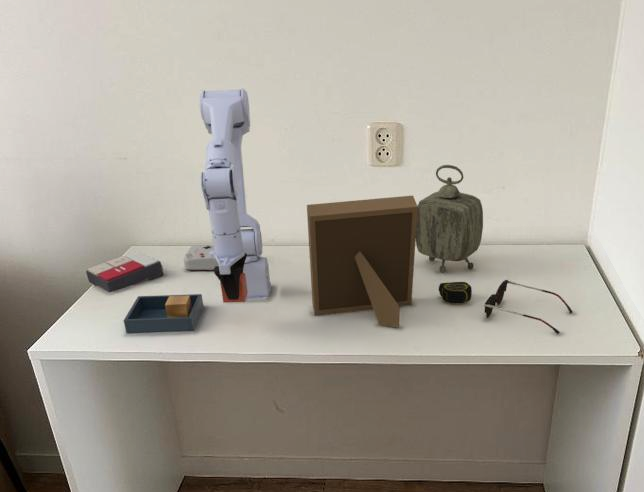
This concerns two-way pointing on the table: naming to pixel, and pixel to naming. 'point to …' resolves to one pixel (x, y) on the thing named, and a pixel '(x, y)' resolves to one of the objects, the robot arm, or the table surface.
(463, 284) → the tape measure
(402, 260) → the photo frame
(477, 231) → the tabletop clock
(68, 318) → the table surface
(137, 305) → the bin
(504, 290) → the sunglasses
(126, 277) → the red and grey box
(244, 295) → the terracotta block
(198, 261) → the handheld gaming device
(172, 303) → the maple block
